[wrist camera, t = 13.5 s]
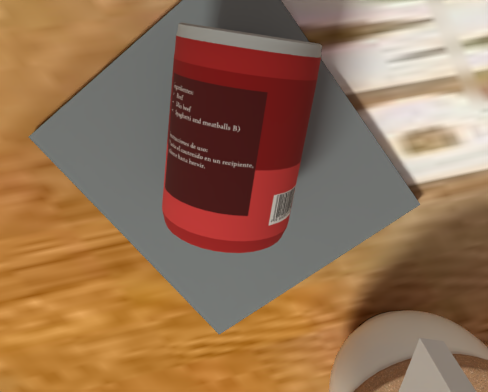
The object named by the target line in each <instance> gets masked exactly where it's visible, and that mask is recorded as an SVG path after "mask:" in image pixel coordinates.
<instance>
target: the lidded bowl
mask: <svg viewBox="0 0 488 392" xmlns="http://www.w3.org/2000/svg"><path fill="white" fill-rule="evenodd" d="M419 338H425V339H432V340H439V341H444V343H445V344H446V346H447V347H448V349H449V350H450V352H451V353H452V355H453V356H454V358H455V359H456V361H457V362H458V364H459V366H460V367H461V369H462V370H463V372H464V373H465V375H466V376H467V378H468V379H469V381H470V382H471V384H472V386H473V387H474V389H475V390H476V392H488V347H487V346H486V345H485V344H484V343H483V342H482V341H481V340H479V339H478V338H477V337H475V336H474V335H473V334H471V333H470V332H469V331H467V330H466V329H465V328H463V327H462V326H460V325H458V324H456V323H454V322H452V321H450V320H448V319H446V318H444V317H442V316H439V315H436V314H432V313H427V312H422V311H412V310H404V311H390V312H385V313H381V314H379V315H376V316H374V317H372V318H370V319H368V320H367V321H365V322H364V323H363V324H362V325H361V326H359V327H358V328H357V329H356V330H354V331H353V332H352V333H351V334H350V335H349V337H348V338H347V339H346V340H345V342H344V343H343V345H342V346H341V348H340V350H339V351H338V353H337V355H336V358H335V361H334V364H333V367H332V370H331V375H330V383H329V392H399V389H400V387H401V384H402V382H403V379H404V376H405V374H406V371H407V369H408V366H409V364H410V361H411V359H412V356H413V354H414V351H415V349H416V346H417V344H418V341H419Z"/></svg>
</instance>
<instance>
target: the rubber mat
mask: <svg viewBox="0 0 488 392" xmlns="http://www.w3.org/2000/svg"><path fill="white" fill-rule="evenodd" d="M179 23H188V24H194V25H201V26H207V27H214V28H220V29H227V30H233V31H240V32H246V33H253V34H259V35H266V36H272V37H279V38H285V39H292V40H298V41H305V42H309V41H308V39H307V38H306V37H305V35H304V34H303V32H302V31H301V29H300V28H299V26H298V25H297V23H296V22H295V20H294V19H293V17H292V16H291V15H290V13H289V12H288V10H287V9H286V7H285V6H284V4H283V3H282V1H281V0H182V1H181V2H180V3H179V4H178V5H177V6H176V7H175V8H173V9H172V10H171V11H170V12H169V13H168V14H167V15H166V16H164V17H163V18H162V19H161V20H160V21H159V22H158V23H157V24H155V25H154V26H153V27H152V28H151V29H150V30H149V31H147V32H146V33H145V34H144V35H143V36H142V37H141V38H140V39H138V40H137V41H136V42H135V43H134V44H133V45H132V46H131V47H129V48H128V49H127V50H126V51H125V52H124V53H123V54H122V55H120V56H119V57H118V58H117V59H116V60H115V61H114V62H113V63H111V64H110V65H109V66H108V67H107V68H106V69H105V70H103V71H102V72H101V73H100V74H99V75H98V76H97V77H96V78H94V79H93V80H92V81H91V82H90V83H89V84H88V85H87V86H85V87H84V88H83V89H82V90H81V91H80V92H79V93H78V94H76V95H75V96H74V97H73V98H72V99H71V100H70V101H69V102H67V103H66V104H65V105H64V106H63V107H62V108H61V109H59V110H58V111H57V112H56V113H55V114H54V115H53V116H52V117H50V118H49V119H48V120H47V121H46V122H45V123H44V124H43V125H41V126H40V127H39V128H38V129H37V130H36V131H35V132H34V133H32V134H31V135H30V136H29V138H30V139H31V140H32V141H33V142H34V143H35V144H36V145H37V146H38V147H39V148H40V149H41V150H42V151H43V152H44V153H45V154H46V156H47V157H48V158H49V159H50V160H51V161H52V162H53V163H54V164H55V165H56V166H57V167H58V168H59V169H60V170H61V171H62V172H63V173H64V174H65V175H66V176H67V177H68V178H69V179H70V180H71V181H72V182H73V183H74V185H75V186H76V187H77V188H78V189H79V190H80V191H81V192H82V193H83V194H84V195H85V196H86V197H87V198H88V199H89V200H90V201H91V202H92V203H93V204H94V205H95V206H96V207H97V208H98V209H99V210H100V211H101V212H102V214H103V215H104V216H105V217H106V218H107V219H108V220H109V221H110V222H111V223H112V224H113V225H114V226H115V227H116V228H117V229H118V230H119V231H120V232H121V233H122V234H123V235H124V236H125V237H126V238H127V239H128V240H129V242H130V243H131V244H132V245H133V246H134V247H135V248H136V249H137V250H138V251H139V252H140V253H141V254H142V255H143V256H144V257H145V258H146V259H147V260H148V261H149V262H150V263H151V264H152V265H153V266H154V267H155V268H156V269H157V271H158V272H159V273H160V274H161V275H162V276H163V277H164V278H165V279H166V280H167V281H168V282H169V283H170V284H171V285H172V286H173V287H174V288H175V289H176V290H177V291H178V292H179V293H180V294H181V295H182V296H183V297H184V298H185V300H186V301H187V302H188V303H189V304H190V305H191V306H192V307H193V308H194V309H195V310H196V311H197V312H198V313H199V314H200V315H201V316H202V317H203V318H204V319H205V320H206V321H207V322H208V323H209V324H210V325H211V326H212V327H213V329H214V330H215V331H216V332H217V333H218V334H221V333H222V332H224V331H225V330H227V329H228V328H230V327H232V326H233V325H235V324H236V323H238V322H239V321H241V320H242V319H244V318H245V317H247V316H249V315H250V314H252V313H253V312H255V311H256V310H258V309H259V308H261V307H262V306H264V305H266V304H267V303H269V302H270V301H272V300H273V299H275V298H276V297H278V296H279V295H281V294H283V293H284V292H286V291H287V290H289V289H290V288H292V287H293V286H295V285H296V284H298V283H300V282H301V281H303V280H304V279H306V278H307V277H309V276H310V275H312V274H313V273H315V272H317V271H318V270H320V269H321V268H323V267H324V266H326V265H327V264H329V263H330V262H332V261H334V260H335V259H337V258H338V257H340V256H341V255H343V254H344V253H346V252H347V251H349V250H351V249H352V248H354V247H355V246H357V245H358V244H360V243H361V242H363V241H364V240H366V239H368V238H369V237H371V236H372V235H374V234H375V233H377V232H378V231H380V230H381V229H383V228H385V227H386V226H388V225H389V224H391V223H392V222H394V221H395V220H397V219H398V218H400V217H402V216H403V215H405V214H406V213H408V212H409V211H411V210H412V209H414V208H416V207H417V206H419V205H420V203H419V202H418V200H417V199H416V197H415V196H414V195H413V193H412V192H411V190H410V189H409V187H408V186H407V184H406V183H405V181H404V180H403V178H402V177H401V176H400V174H399V173H398V171H397V170H396V168H395V167H394V165H393V164H392V162H391V161H390V159H389V158H388V157H387V155H386V154H385V152H384V151H383V149H382V148H381V146H380V145H379V143H378V142H377V140H376V139H375V137H374V136H373V135H372V133H371V132H370V130H369V129H368V127H367V126H366V124H365V123H364V121H363V120H362V118H361V117H360V116H359V114H358V113H357V111H356V110H355V108H354V107H353V105H352V104H351V102H350V101H349V99H348V98H347V97H346V95H345V94H344V92H343V91H342V89H341V88H340V86H339V85H338V83H337V82H336V80H335V79H334V77H333V76H332V75H331V73H330V72H329V70H328V69H327V67H326V66H325V64H324V63H323V61H322V60H321V61H320V66H319V71H318V78H317V83H316V88H315V93H314V98H313V103H312V108H311V113H310V118H309V123H308V128H307V133H306V138H305V143H304V148H303V153H302V157H301V162H300V167H299V172H298V177H297V182H296V187H295V192H294V197H293V202H292V207H291V212H290V217H289V222H288V225H287V228H286V230H285V231H284V233H283V235H282V237H281V238H280V240H279V241H278V242H277V243H275V244H274V245H272V246H270V247H268V248H265V249H263V250H259V251H254V252H247V253H225V252H217V251H212V250H207V249H203V248H200V247H197V246H194V245H191V244H189V243H187V242H185V241H183V240H181V239H180V238H178V237H177V236H176V235H174V234H173V233H172V232H171V231H170V230H169V229H168V227H167V225H166V223H165V220H164V215H163V211H162V201H163V188H164V176H165V163H166V150H167V137H168V125H169V112H170V99H171V86H172V74H173V61H174V53H175V42H176V34H177V31H178V24H179Z"/></svg>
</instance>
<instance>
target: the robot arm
mask: <svg viewBox="0 0 488 392" xmlns="http://www.w3.org/2000/svg"><path fill="white" fill-rule="evenodd" d="M399 392H476V390H475V389H474V387H473V386H472V384H471V382H470V381H469V379H468V378H467V376H466V375H465V373H464V372H463V370H462V369H461V367H460V366H459V364H458V362H457V361H456V359H455V358H454V356H453V355H452V353H451V352H450V350H449V349H448V347H447V346H446V344H445V343H444V341H439V340H432V339H425V338H419V341H418V344H417V346H416V349H415V351H414V354H413V356H412V359H411V361H410V364H409V366H408V369H407V371H406V374H405V376H404V379H403V382H402V384H401V387H400V389H399Z"/></svg>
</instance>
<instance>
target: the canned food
mask: <svg viewBox="0 0 488 392" xmlns="http://www.w3.org/2000/svg"><path fill="white" fill-rule="evenodd" d="M321 50H322V45H320V44H318V43H311V42H305V41H298V40H292V39H285V38H279V37H272V36H266V35H259V34H253V33H246V32H240V31H233V30H227V29H220V28H214V27H207V26H201V25H194V24H188V23H179V24H178V31H177V34H176V42H175V53H174V61H173V74H172V86H171V99H170V112H169V125H168V137H167V150H166V163H165V176H164V188H163V201H162V211H163V215H164V220H165V223H166V225H167V227H168V229H169V230H170V231H171V232H172V233H173V234H174V235H176V236H177V237H178V238H180V239H181V240H183V241H185V242H187V243H189V244H191V245H194V246H197V247H200V248H203V249H207V250H212V251H217V252H225V253H247V252H254V251H259V250H263V249H265V248H268V247H270V246H272V245H274V244H275V243H277V242H278V241H279V240H280V238H281V237H282V235H283V233H284V231H285V230H286V228H287V225H288V222H289V217H290V212H291V207H292V202H293V197H294V192H295V187H296V182H297V177H298V172H299V167H300V162H301V157H302V153H303V148H304V143H305V138H306V133H307V128H308V123H309V118H310V113H311V108H312V103H313V98H314V93H315V88H316V83H317V78H318V71H319V66H320V61H321Z"/></svg>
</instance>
